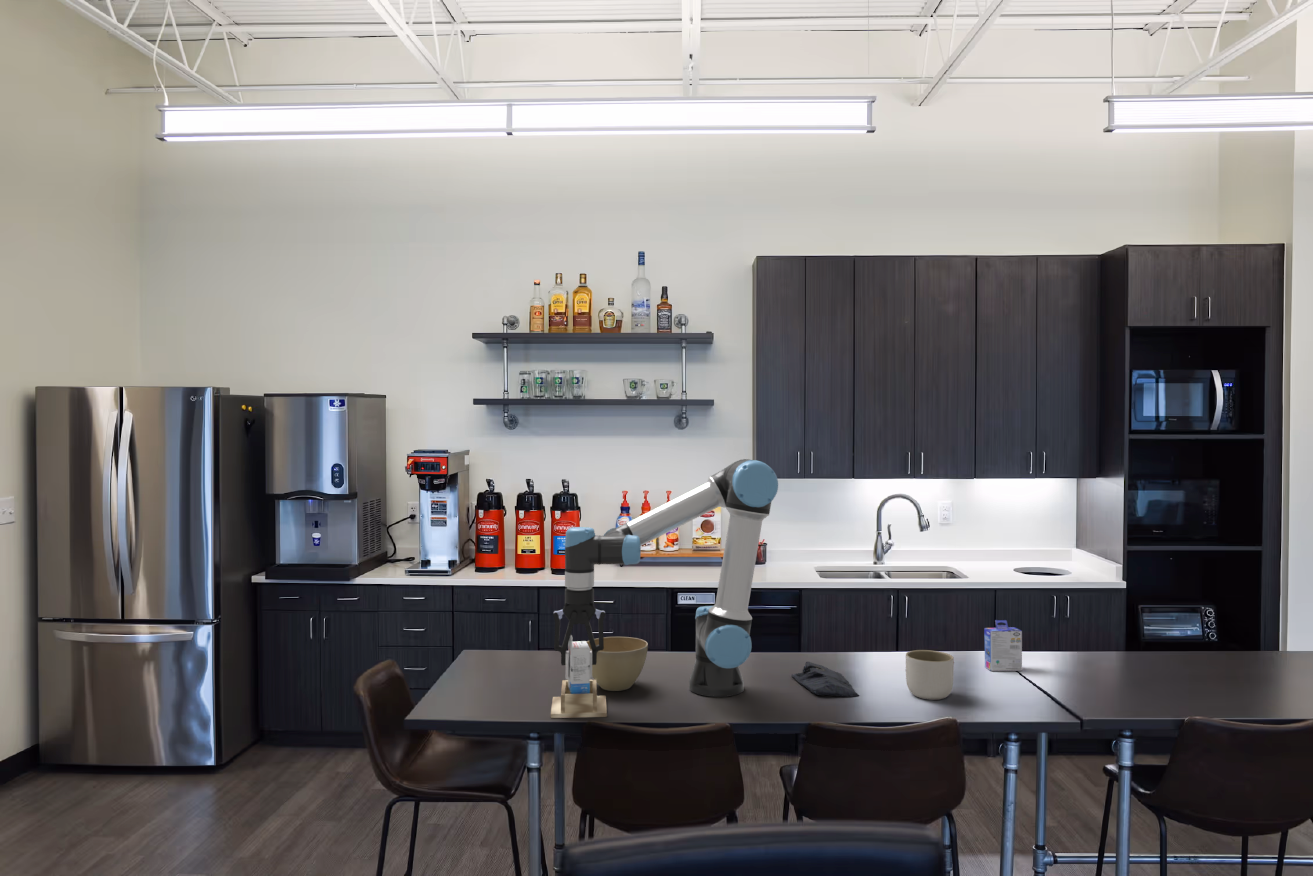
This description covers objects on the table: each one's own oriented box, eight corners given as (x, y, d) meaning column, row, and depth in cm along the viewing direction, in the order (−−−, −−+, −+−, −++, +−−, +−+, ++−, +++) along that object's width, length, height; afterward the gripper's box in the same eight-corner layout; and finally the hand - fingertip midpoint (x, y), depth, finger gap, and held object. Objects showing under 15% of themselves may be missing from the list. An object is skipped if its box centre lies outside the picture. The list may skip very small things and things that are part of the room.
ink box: (590, 694, 216) (590, 636, 216) (571, 695, 215) (571, 637, 215) (586, 684, 225) (586, 629, 225) (567, 685, 224) (567, 629, 224)
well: (605, 699, 228) (605, 678, 228) (606, 716, 214) (606, 694, 214) (552, 700, 226) (552, 680, 226) (550, 718, 213) (550, 696, 213)
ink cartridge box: (1014, 666, 261) (1015, 619, 261) (1023, 671, 256) (1023, 623, 256) (983, 666, 261) (983, 619, 261) (990, 671, 256) (991, 623, 256)
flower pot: (640, 676, 250) (640, 634, 250) (653, 694, 232) (653, 650, 232) (579, 679, 246) (579, 637, 246) (587, 698, 228) (588, 653, 228)
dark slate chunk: (806, 700, 229) (806, 682, 229) (789, 676, 251) (789, 660, 251) (862, 699, 230) (862, 681, 230) (840, 676, 252) (840, 660, 252)
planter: (904, 699, 228) (904, 659, 228) (907, 687, 240) (907, 648, 240) (953, 705, 224) (953, 663, 224) (953, 691, 236) (954, 652, 236)
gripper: (614, 584, 224) (613, 672, 225) (544, 585, 223) (543, 673, 223) (615, 590, 217) (614, 681, 217) (542, 590, 215) (542, 682, 216)
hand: (578, 677), depth 220 cm, fingers closed on ink box, 5 cm apart
